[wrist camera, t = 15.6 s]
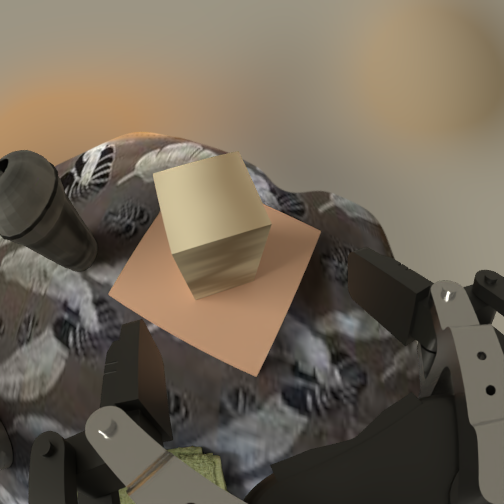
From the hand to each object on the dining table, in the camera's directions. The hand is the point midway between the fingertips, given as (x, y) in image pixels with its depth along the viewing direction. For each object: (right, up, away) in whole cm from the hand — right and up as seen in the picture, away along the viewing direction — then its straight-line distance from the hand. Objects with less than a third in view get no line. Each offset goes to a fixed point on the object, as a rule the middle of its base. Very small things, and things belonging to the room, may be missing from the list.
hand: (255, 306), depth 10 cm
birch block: (-3, +1, +13) cm, 14 cm away
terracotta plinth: (-3, 0, +17) cm, 17 cm away
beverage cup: (-19, +2, +17) cm, 25 cm away
